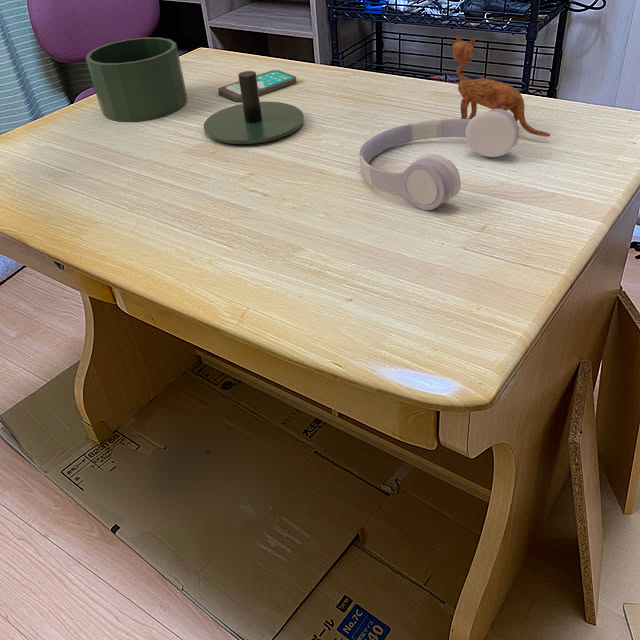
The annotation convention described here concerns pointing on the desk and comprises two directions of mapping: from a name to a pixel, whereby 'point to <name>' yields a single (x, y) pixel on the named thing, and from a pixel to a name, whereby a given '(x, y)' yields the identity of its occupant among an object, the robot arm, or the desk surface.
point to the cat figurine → (487, 90)
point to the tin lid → (253, 117)
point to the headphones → (434, 170)
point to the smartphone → (260, 84)
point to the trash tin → (137, 79)
